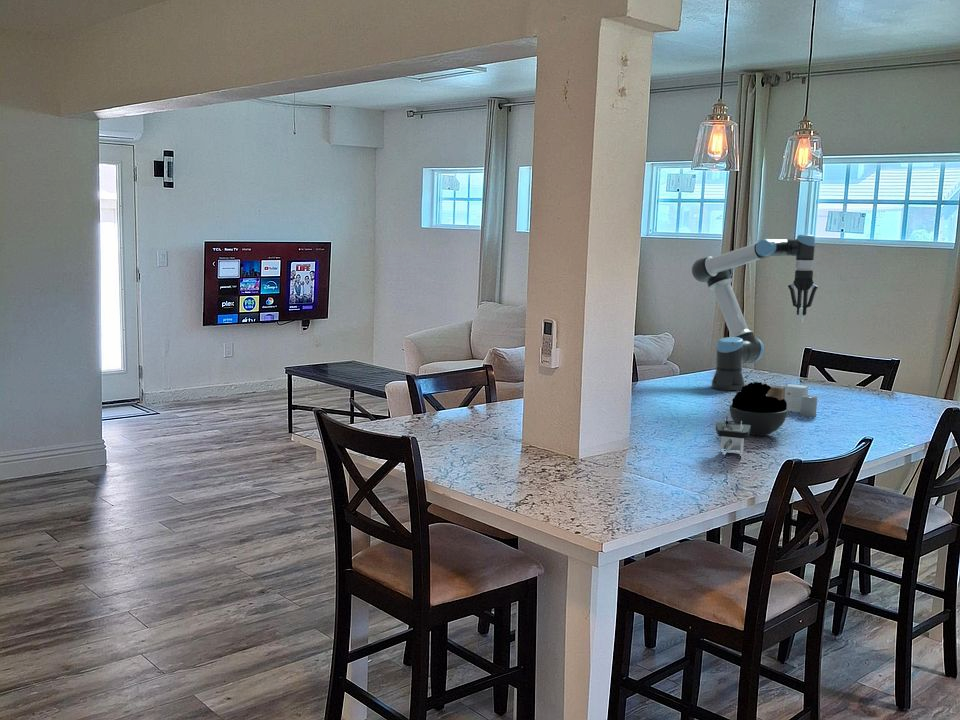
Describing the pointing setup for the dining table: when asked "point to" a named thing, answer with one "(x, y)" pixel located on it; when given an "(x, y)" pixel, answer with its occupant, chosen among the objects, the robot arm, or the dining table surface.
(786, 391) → the small box
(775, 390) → the walnut block
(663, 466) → the dining table surface
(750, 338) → the robot arm
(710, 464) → the dining table surface
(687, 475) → the dining table surface
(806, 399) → the white rectangular block
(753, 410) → the bowl of black rocks
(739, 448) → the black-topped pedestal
